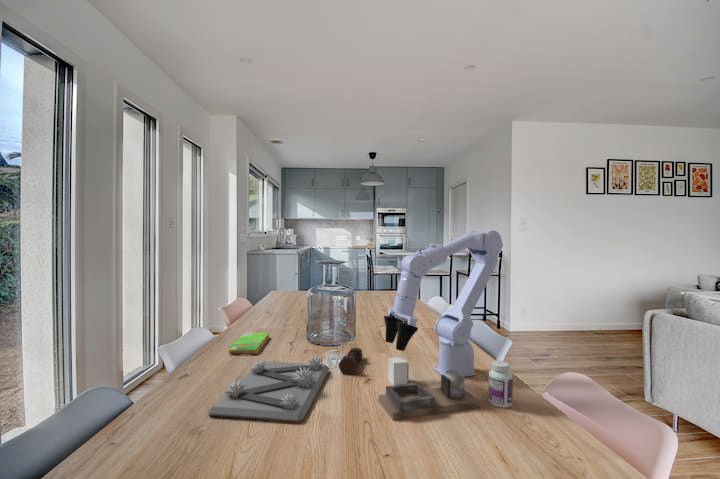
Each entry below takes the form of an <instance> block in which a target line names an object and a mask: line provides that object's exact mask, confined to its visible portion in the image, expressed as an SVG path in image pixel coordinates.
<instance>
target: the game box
mask: <svg viewBox="0 0 720 479" xmlns="http://www.w3.org/2000/svg"><path fill="white" fill-rule="evenodd" d="M269 339H270V332H245V333H243V334H242V335H241V336H240V337H239V338H238V339H237V340H236V341H234V343H232V344H231V345H230V346H229V347H228V348H227V351H228V354H259V352H260V351H261V350H262V348H263V347H264V346H265V344H266V343H267V341H268V340H269Z"/></svg>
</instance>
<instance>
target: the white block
mask: <svg viewBox="0 0 720 479" xmlns="http://www.w3.org/2000/svg"><path fill="white" fill-rule="evenodd" d="M387 364H388V365H387V366H388V367H387V381H389V383H391V384H392V386H393V385H402V384H408V379H409V363H408V361H407V360H406V359H405V358H404V357H403V356H400V357H399V356H397V357H389V358H388V363H387Z"/></svg>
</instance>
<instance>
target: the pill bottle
mask: <svg viewBox="0 0 720 479" xmlns="http://www.w3.org/2000/svg"><path fill="white" fill-rule="evenodd" d="M510 367H511V366H510V363H509V362H507V361H504V360H493V361H492V362H491V369H490V370H489V372H488V403H490V404H491V405H492V406H494V407H497V408H503V409H507V408H510V407H512V406H513V399H514V398H513V397H514V396H513V388H514V387H513V384H514V382H513V381H514V380H513V378H514V377H513V373H511V372H510V369H511V368H510Z"/></svg>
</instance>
